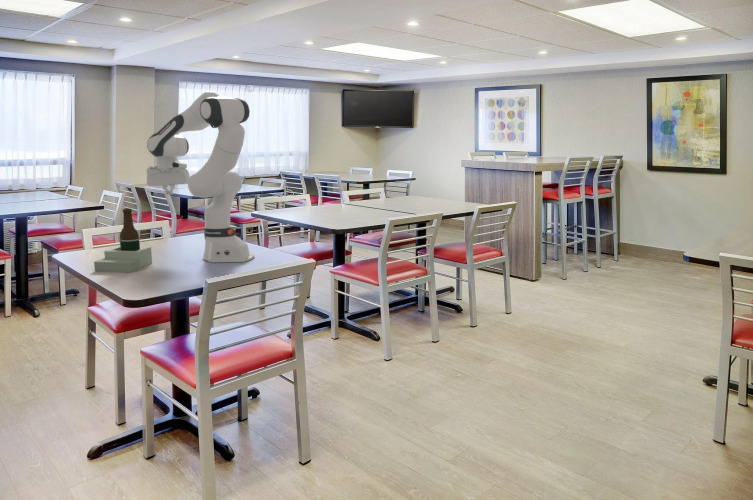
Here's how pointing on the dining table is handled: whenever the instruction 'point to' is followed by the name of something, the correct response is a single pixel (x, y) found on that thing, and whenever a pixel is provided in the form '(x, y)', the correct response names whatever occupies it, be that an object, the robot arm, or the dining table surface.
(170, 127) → the robot arm
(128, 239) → the beer bottle
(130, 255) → the block
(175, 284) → the dining table surface
